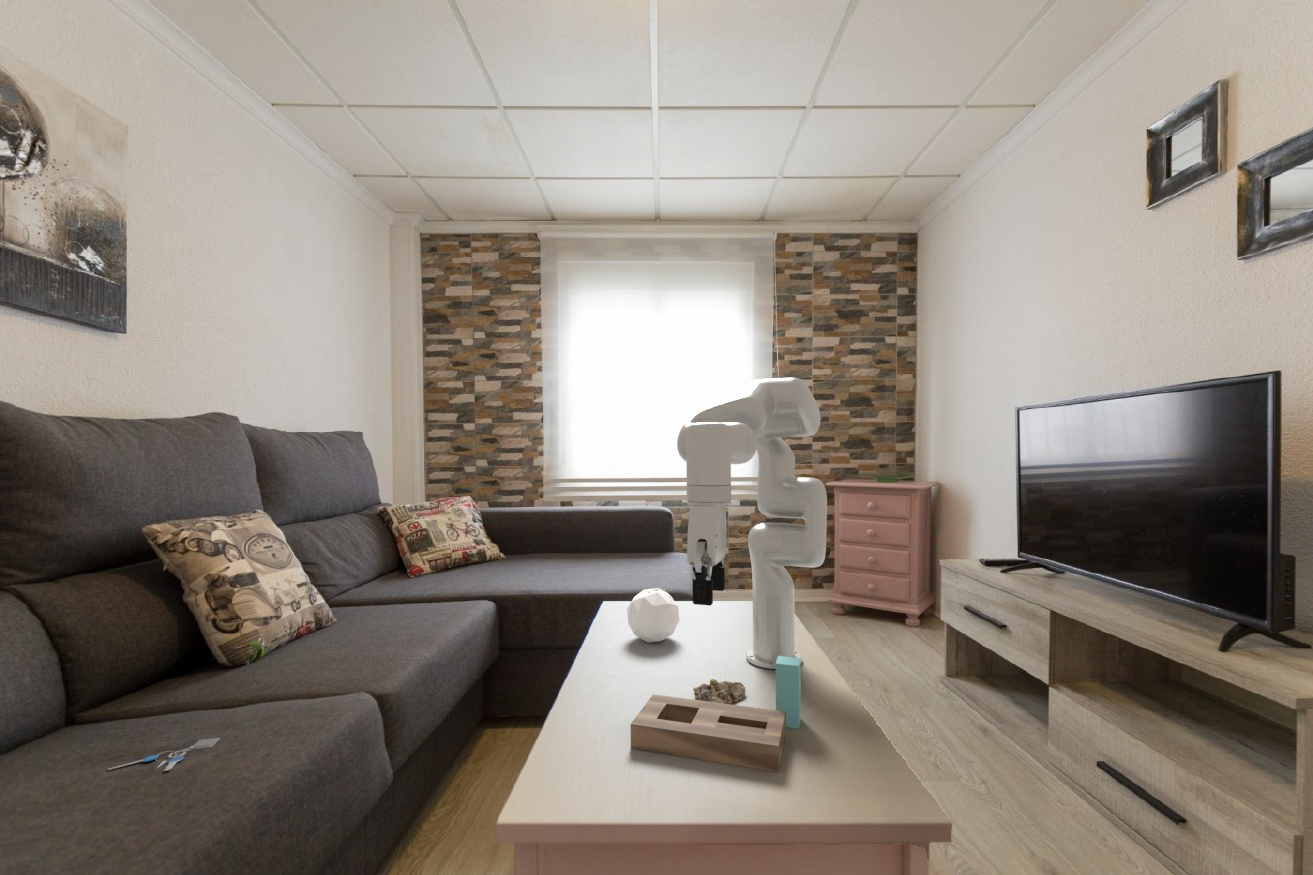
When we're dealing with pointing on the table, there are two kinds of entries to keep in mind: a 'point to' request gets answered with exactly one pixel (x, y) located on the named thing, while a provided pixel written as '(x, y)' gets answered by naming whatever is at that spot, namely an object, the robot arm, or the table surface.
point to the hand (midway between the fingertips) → (709, 596)
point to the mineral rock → (720, 692)
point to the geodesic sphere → (653, 615)
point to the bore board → (711, 732)
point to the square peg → (789, 689)
